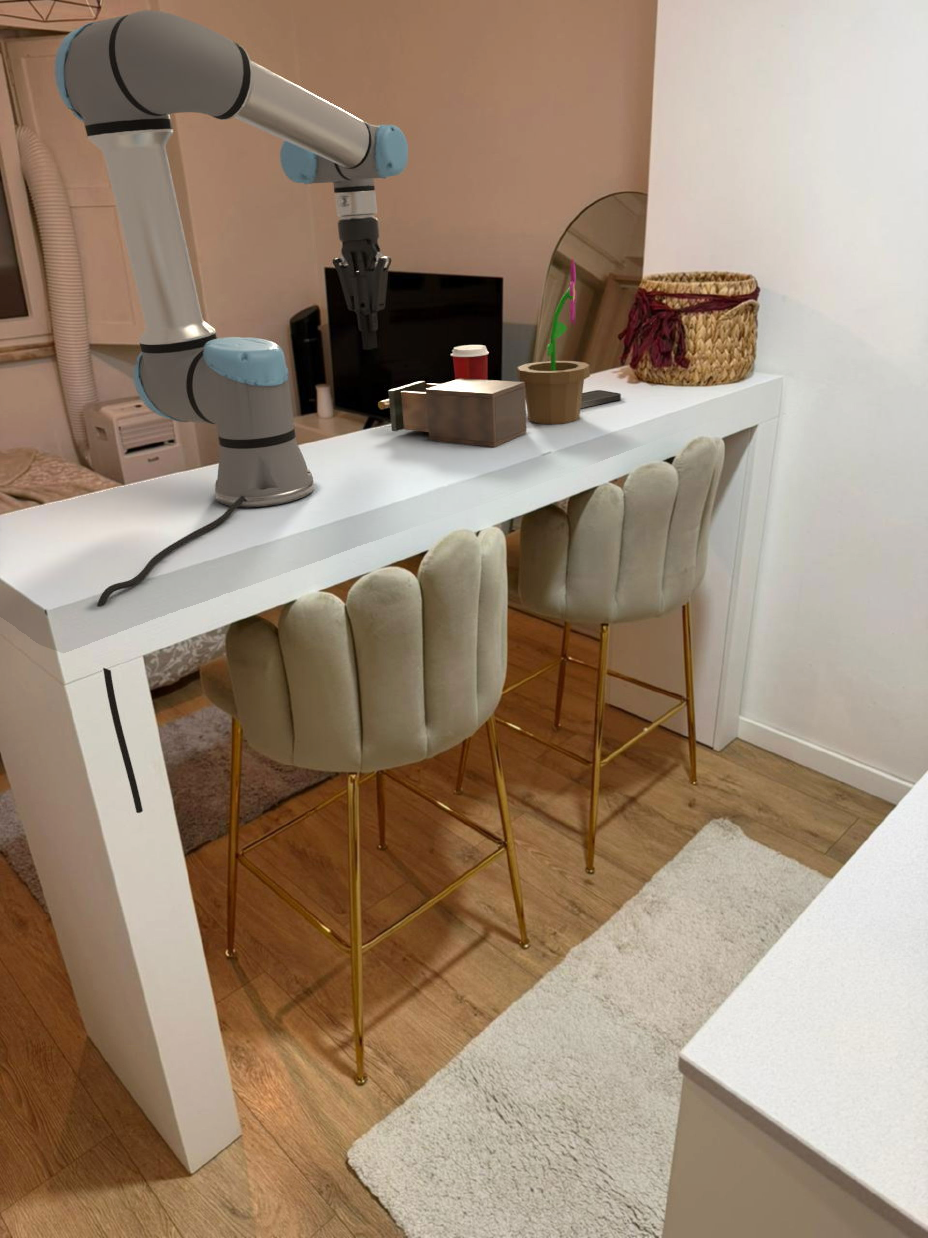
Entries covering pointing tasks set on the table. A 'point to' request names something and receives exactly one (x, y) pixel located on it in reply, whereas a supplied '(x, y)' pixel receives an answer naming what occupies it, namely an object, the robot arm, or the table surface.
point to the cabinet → (476, 411)
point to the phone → (598, 397)
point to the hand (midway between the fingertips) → (370, 348)
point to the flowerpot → (555, 376)
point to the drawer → (408, 407)
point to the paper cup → (470, 362)
